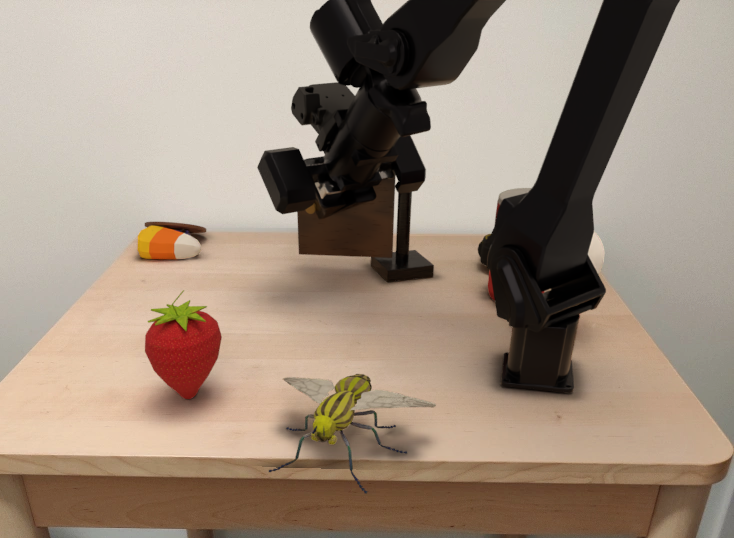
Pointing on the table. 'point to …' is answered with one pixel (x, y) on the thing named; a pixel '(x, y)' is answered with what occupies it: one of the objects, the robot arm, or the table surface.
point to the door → (351, 228)
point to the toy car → (178, 227)
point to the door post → (403, 250)
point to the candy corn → (166, 244)
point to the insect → (346, 408)
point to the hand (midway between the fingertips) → (319, 215)
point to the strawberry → (183, 346)
